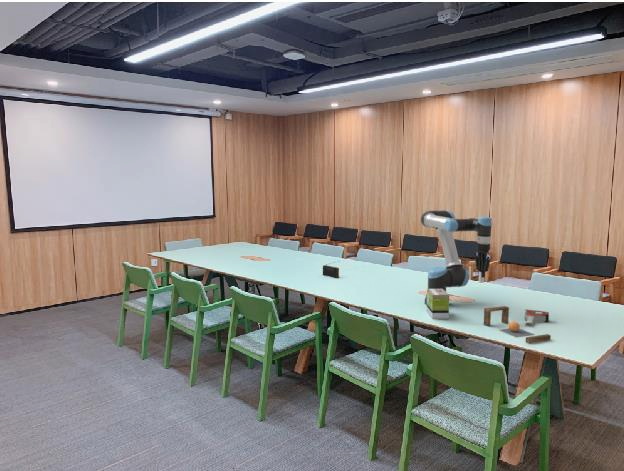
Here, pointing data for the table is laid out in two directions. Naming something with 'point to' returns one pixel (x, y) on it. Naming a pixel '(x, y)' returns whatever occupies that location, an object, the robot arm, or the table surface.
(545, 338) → the brown wooden bar
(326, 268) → the radio
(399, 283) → the table surface
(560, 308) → the table surface
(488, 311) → the bridge
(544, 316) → the tape dispenser
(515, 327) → the ball
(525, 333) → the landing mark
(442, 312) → the tea box
